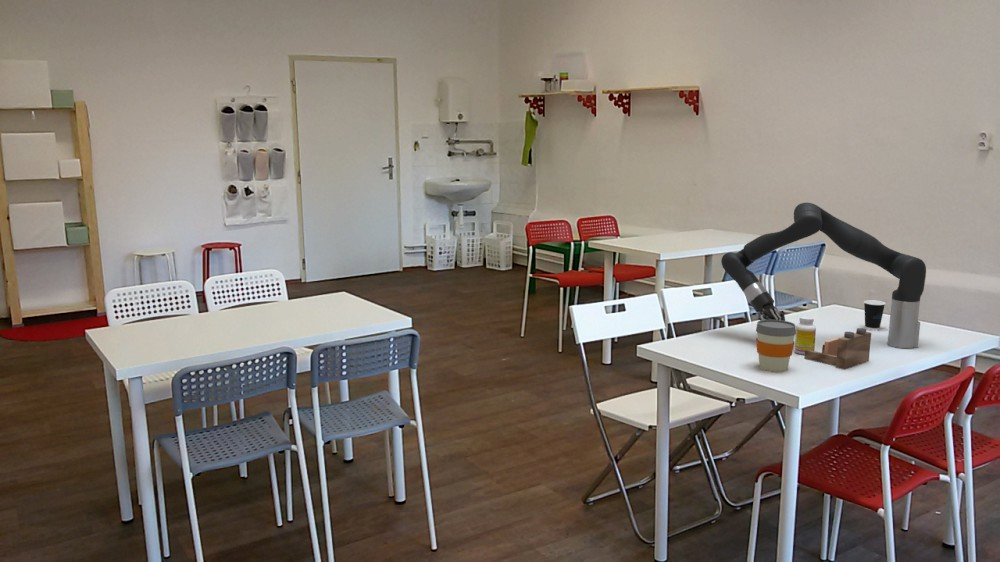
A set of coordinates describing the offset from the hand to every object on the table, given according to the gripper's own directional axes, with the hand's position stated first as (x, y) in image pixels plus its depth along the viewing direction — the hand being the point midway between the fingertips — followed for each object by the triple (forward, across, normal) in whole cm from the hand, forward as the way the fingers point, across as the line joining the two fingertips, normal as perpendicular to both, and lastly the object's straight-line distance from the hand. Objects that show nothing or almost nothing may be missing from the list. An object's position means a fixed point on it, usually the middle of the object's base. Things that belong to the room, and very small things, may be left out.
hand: (785, 335), depth 292 cm
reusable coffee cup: (+12, +25, +4) cm, 27 cm away
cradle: (+17, 0, +10) cm, 20 cm away
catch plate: (+16, 0, +10) cm, 18 cm away
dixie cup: (+7, -54, 0) cm, 54 cm away
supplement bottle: (+9, 0, +2) cm, 9 cm away
